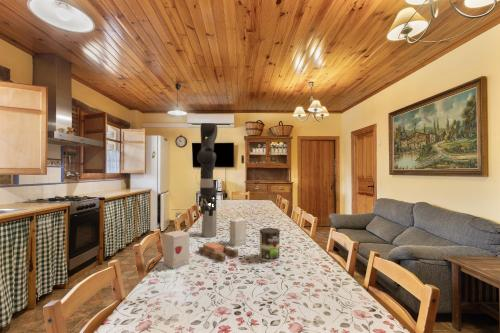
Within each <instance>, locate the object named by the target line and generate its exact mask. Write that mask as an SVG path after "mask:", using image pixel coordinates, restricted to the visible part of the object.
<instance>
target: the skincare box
mask: <svg viewBox="0 0 500 333" xmlns="http://www.w3.org/2000/svg"><path fill="white" fill-rule="evenodd" d="M246 235H247V220H246V219H244V218H241V217H240V218H236V219H230V220H229V245H231V246H234V247H238V246H243V245H246V244H247V236H246Z"/></svg>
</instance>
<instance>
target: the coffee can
mask: <svg viewBox="0 0 500 333" xmlns="http://www.w3.org/2000/svg"><path fill="white" fill-rule="evenodd" d="M280 233H281V231H280V229H278V228H274V227H265V228H261V229H259V259H260V260H262V261H265V262H275V261H279V259H280Z"/></svg>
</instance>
